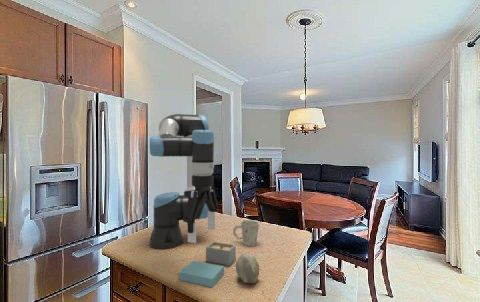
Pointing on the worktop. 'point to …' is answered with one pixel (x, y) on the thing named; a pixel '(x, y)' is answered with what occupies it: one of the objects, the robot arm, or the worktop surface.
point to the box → (221, 253)
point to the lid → (201, 273)
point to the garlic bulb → (247, 268)
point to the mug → (248, 232)
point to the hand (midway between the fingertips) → (202, 235)
